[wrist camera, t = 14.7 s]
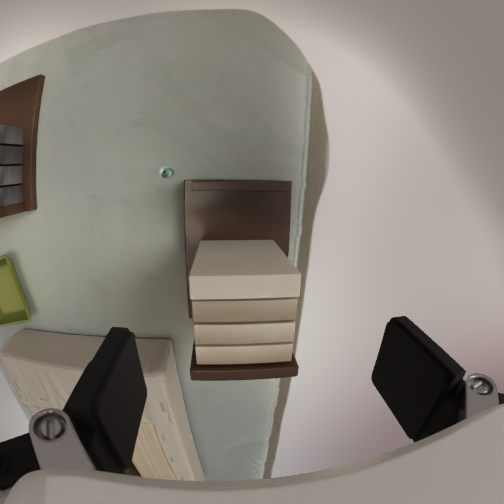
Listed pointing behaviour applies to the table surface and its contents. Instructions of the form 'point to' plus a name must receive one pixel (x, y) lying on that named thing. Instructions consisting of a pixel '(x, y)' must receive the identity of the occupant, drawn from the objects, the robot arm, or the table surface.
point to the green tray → (11, 296)
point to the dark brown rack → (239, 310)
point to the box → (69, 372)
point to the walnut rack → (19, 145)
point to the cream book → (242, 271)
